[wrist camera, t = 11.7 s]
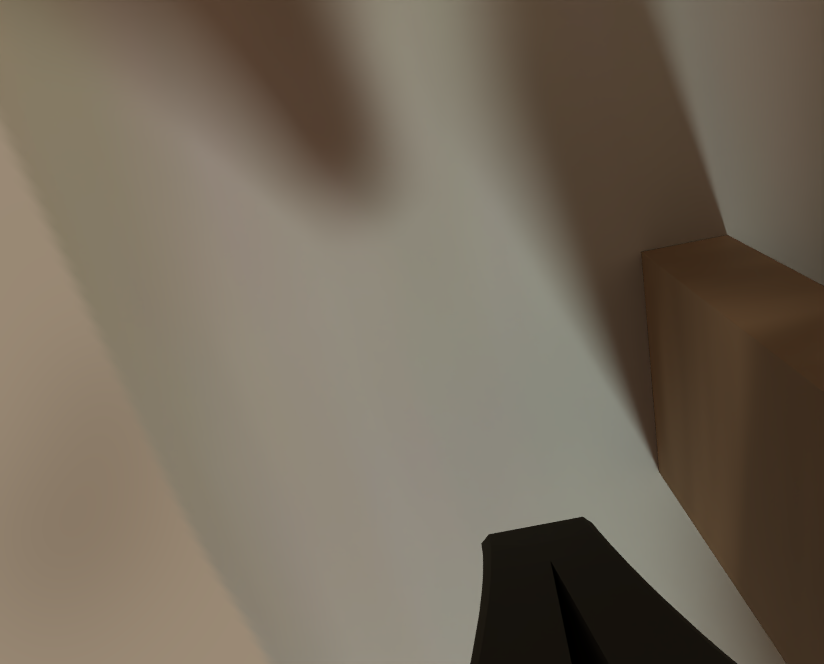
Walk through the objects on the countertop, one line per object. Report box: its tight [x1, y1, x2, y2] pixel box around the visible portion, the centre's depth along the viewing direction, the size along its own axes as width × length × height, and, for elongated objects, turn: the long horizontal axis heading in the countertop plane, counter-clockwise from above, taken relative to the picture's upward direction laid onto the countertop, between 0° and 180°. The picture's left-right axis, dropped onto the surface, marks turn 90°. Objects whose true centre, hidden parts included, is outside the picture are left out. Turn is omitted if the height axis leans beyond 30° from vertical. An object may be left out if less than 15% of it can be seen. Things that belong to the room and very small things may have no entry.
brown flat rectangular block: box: [641, 235, 824, 664], centre depth 11 cm, size 2×5×8 cm, turn 11°
